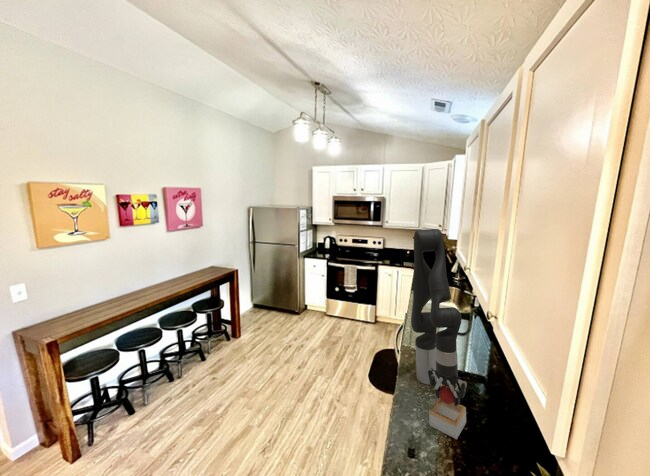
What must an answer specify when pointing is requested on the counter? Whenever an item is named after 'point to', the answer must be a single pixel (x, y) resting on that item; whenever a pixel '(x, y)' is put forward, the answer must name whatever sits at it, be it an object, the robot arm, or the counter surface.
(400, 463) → the counter surface
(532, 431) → the counter surface
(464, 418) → the wooden tray
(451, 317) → the robot arm
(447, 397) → the onion
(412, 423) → the counter surface
